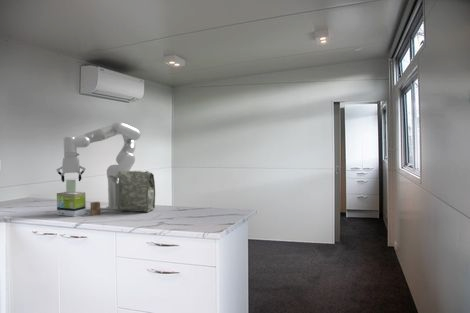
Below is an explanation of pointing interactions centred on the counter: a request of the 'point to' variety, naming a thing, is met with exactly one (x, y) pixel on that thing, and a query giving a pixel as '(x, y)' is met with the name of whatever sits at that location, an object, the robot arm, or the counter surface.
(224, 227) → the counter surface
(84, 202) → the tea box
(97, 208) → the walnut block
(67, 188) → the green block
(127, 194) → the bag
